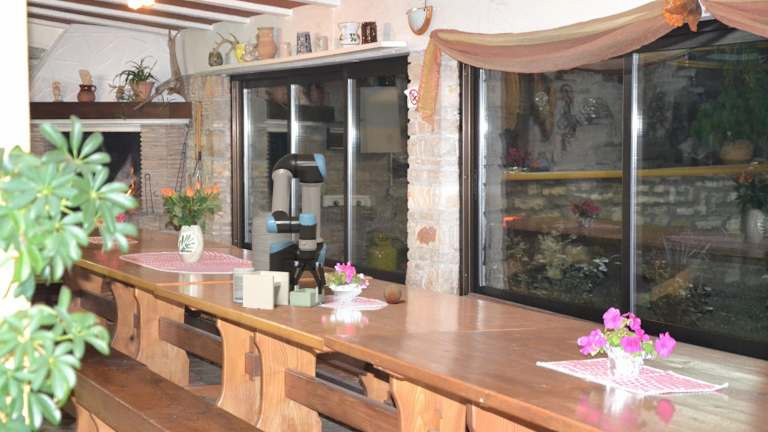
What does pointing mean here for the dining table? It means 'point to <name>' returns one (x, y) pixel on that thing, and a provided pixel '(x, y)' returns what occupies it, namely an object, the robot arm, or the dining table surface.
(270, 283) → the box
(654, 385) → the dining table surface
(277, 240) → the vase
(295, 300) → the tray
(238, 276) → the supplement tub
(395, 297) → the fruit
